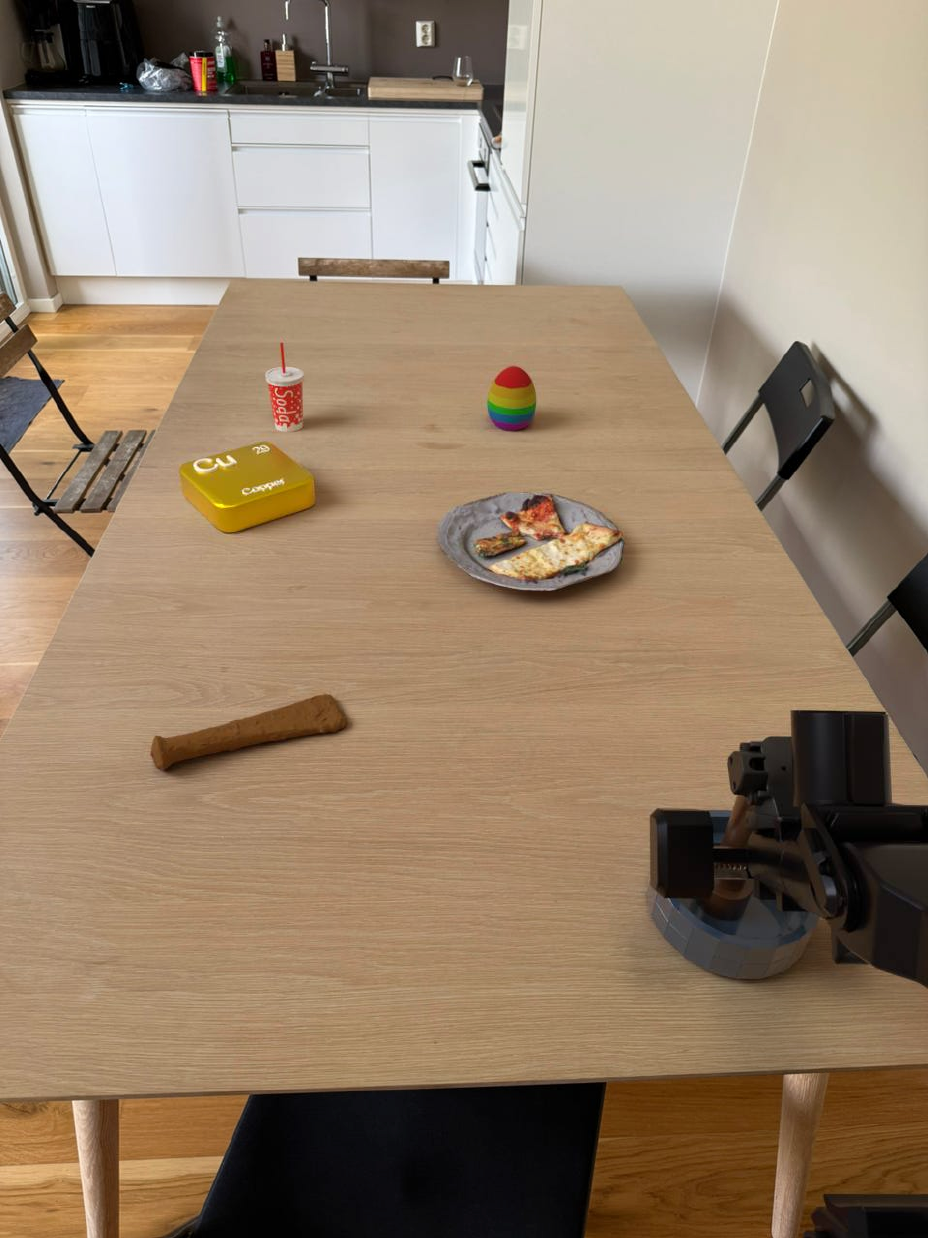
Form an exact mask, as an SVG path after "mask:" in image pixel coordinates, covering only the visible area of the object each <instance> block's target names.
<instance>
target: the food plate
mask: <svg viewBox="0 0 928 1238" xmlns="http://www.w3.org/2000/svg"><path fill="white" fill-rule="evenodd" d="M437 530H438V531H437V537H436V538H437V541H438V543H439V546H440V548H441V549H442V551H443V552H444V554H445V555H447V556H448V557H449V559H450V560H452V562H453V563H455V565H456V566H458V567H459V568H460V569H462V570H463V571H464V572H466V574H468V575H469V576H471V577H473V578H474V579H477V580H480V581H482V582H486V583H490V584H494V585H496V586H499V587H503V588H509V589H514V590H522V591H523V590H524V591H539V592H541V591H543V592H544V591H548V592H550V591H551V592H552V591H556V590H558V589H563V588H564V587H565V588H566V587H568V586H570V585H574V584H576V585H577V584H579V583H581V582H585V581H588V580H589V579H592V578H595V577H599V576H601V575H604V574H605V573H610V572H612V571H614V570H615V569H616V568H618V567H619V566H620V565H621V563H622V561H623V556H624V549H625V544H626V543H625V541H624V539H623V535H624V534H623V532H622V531H621V530H619V528H618V526H616V524H614V522H613V521H611V520H610V519H609V518H608V517H607V516H606V515H605V514H604V513H602V512H601V510H598V509H596V508H594V507H592V506H591V505H589V504H586V503H584V502H581V501H578V500H575V499H571V498H568V497H565V496H561V495H559V494H554V493H550V492H549V493H547V492H546V493H545V492H538V493H536V492H531V491H524V492H511V491H510V492H503V493H499V494H495V495H491V496H487V497H485V498H480V499H477V500H474V501H469V502H466V503H464V504H460V505H456V506H454V507H453V508H452V509H450V510H449V511H446V513H445V514H444V515H443V516H442V517H441V519H440V522H439V524H438V527H437Z"/></svg>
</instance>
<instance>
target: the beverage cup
mask: <svg viewBox="0 0 928 1238" xmlns="http://www.w3.org/2000/svg"><path fill="white" fill-rule="evenodd" d="M279 348H280V357H281V366H278V367H274V368H273V367H272V368H270V369H269V370H266V372H265V373H264V377H265V382H266V383H267V386H268V392H269V398H270V404H271V410H272V416H273V422H274V428H275V429H276V430H277V431H278V432H279V431H280V432H284V433H294V432H296V431H299V430H301V429H302V428H303V427H304V404H303V403H304V399H303V392H304V391H303V381H304V380H305V379H304V378H305V374H304V371H303V370H302V369H301V368H298V367H294V366H286V360H285V350H284V342H279Z"/></svg>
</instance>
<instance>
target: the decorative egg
mask: <svg viewBox="0 0 928 1238" xmlns="http://www.w3.org/2000/svg"><path fill="white" fill-rule="evenodd" d="M486 402H487V403H486V404H487V412H488V415H489V419H490V420H491V422H492V423H493V424H494V426H496V427H497V428H498V429H501V430H505V431H520V430H522V429H524V428H526V427H527V426H528V425H529V424H530V422H531V421H532V420H533V418H534V416H535V413H536V408H537V393H536V388H535V385H534V382H533V380H532V378H531V376H530V375H529V374H528V372H526V371H525V370H524V369H523V368H521V367H519V366H517V365H511V366H508V367H505V368H504V369H503V370H501V371H500V372H499V373H498V374H497V375H496V377H495V378H494V379H493V381H492V383H491V385H490V388H489V391H488V395H487V401H486Z"/></svg>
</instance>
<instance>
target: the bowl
mask: <svg viewBox="0 0 928 1238" xmlns="http://www.w3.org/2000/svg"><path fill="white" fill-rule="evenodd" d="M706 810H707V811H709V812H710V816H711V819H712V823H713V840H714V846H720V845H721V842H722V839H723V836H724V833H725V830H726V827H727V824H728V821H729V818H730V815H731V812H732V809H706ZM645 895H646V901H647V905H648V909H649V913H650V917H651V919H652V921H653V922H654V924H655V926H656V928H657V929H658V931H659V933H660V934H661V936H662V937H663V938H664V940H665V941H666V942H667V943H668V944H669V945H670V946H671V947H673V949H674V950H676V951H677V952H678V954H679V955H680V956H682V957H683V958H684V959H686V960H688V961H689V962H692V963H693V964H695V965H696V966H699V967H700V968H702V969H704V970H705V971H708V972H710V973H714V974H718V975H721V976H725V977H728V978H731V979H736V980H762V979H767V978H768V977H771V976H774V975H777V974H780V973H783V972H785V971H787V970H788V969H789V968H790V967H792V965H794V964H795V963H796V962H797V961H798V960H800V959H801V958H802V956H803V955H804V952H805V950H806V948H807V947H808V946H807V945H808V944H809V942H810V940H811V938H812V935H813V933H814V931H815V929H816V927H817V925H818V922H819V921H820V918H821V917H819V916H817V915H815V914H813V913H811V912H791V911H781V910H779V909H777V908H776V900H759V899H757V898H755V897H754V890H753V893H752V895H751V898H750V900H749V903H748V905H747V908H746V910H745V912H744V914H743V915H742V916H740V917H739V918H737V919H734V920H720V919H716V918H714V917H712V916H710V915H708V914H707V913H706V912H705V911H703V910H702V908H701V907H700V906H699V904H698V903H697V900H696V899H673V898H663V897H662V896H660V895H659V894H658V893H657V892H656V891H655V890H654V889H653V888H652V887H651V886H650V872H649V874H648V880H647V886H646V893H645Z"/></svg>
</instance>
